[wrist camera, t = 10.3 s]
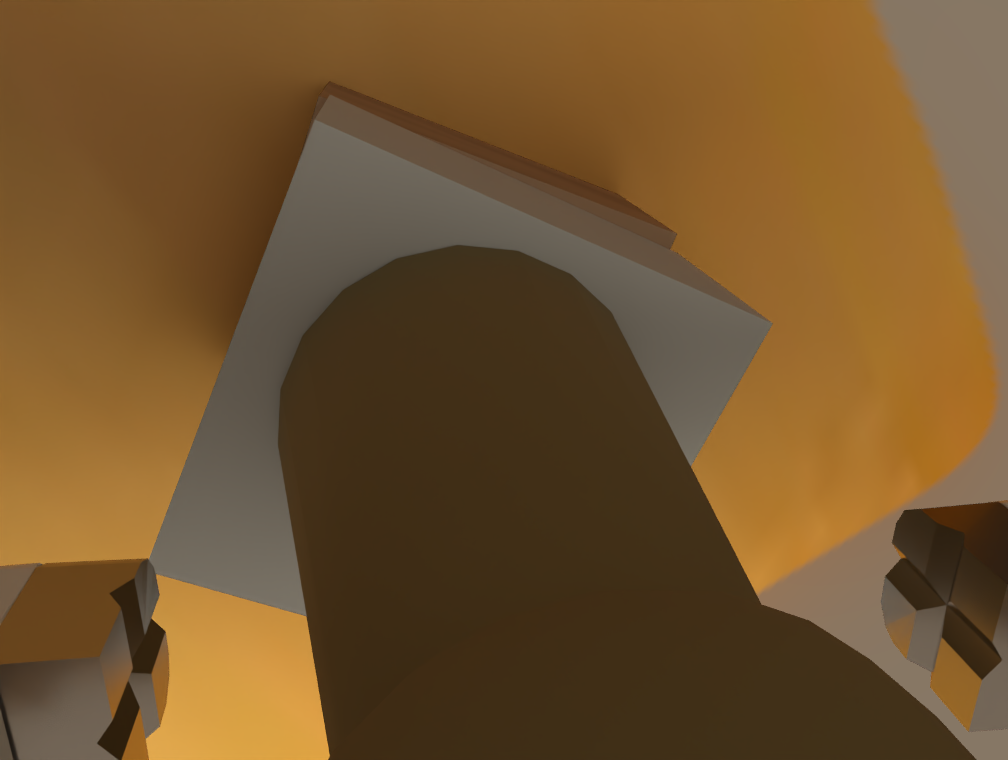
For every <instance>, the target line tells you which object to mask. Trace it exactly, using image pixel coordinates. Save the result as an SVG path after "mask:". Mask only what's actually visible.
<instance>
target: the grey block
mask: <svg viewBox="0 0 1008 760" xmlns="http://www.w3.org/2000/svg"><path fill="white" fill-rule="evenodd" d="M456 245H463V246H473V247H484V248H495V249H505V250H516V251H520V252H522V253H524V254H527V255H529V256H531V257H533V258H536V259H538V260H540V261H542V262H545V263H547V264H549V265H552V266H554V267H556V268H558V269H561V270H563V271H565V272H567V273H570V274H571V275H573V276H574V277H575V278H576V279H577V280H578V281H579V282H580V283H581V284H582V285H583V286H584V287H585V288H586V289H587V290H589V291H590V292H591V293H592V294H593V295H594V296H595V297H596V298H597V299H598V300H599V301H600V302H601V303H602V304H604V305H605V306H606V307H607V308H608V309H609V310H610V311H611V312H612V314H613V316H614V318H615V320H616V322H617V324H618V326H619V328H620V330H621V332H622V334H623V336H624V338H625V340H626V341H627V343H628V345H629V347H630V349H631V351H632V353H633V355H634V357H635V359H636V361H637V363H638V365H639V367H640V369H641V371H642V373H643V375H644V377H645V379H646V380H647V382H648V384H649V386H650V388H651V390H652V392H653V394H654V396H655V398H656V400H657V402H658V404H659V406H660V408H661V410H662V412H663V414H664V416H665V417H666V419H667V421H668V423H669V425H670V427H671V429H672V431H673V433H674V435H675V437H676V439H677V441H678V443H679V445H680V447H681V449H682V451H683V453H684V455H685V456H686V458H687V460H688V462H689V464H690V466H691V465H692V463H693V462H694V460H695V458H696V457H697V455H698V453H699V451H700V450H701V448H702V446H703V444H704V443H705V441H706V439H707V437H708V436H709V434H710V432H711V430H712V429H713V427H714V425H715V423H716V422H717V420H718V418H719V416H720V415H721V413H722V411H723V409H724V408H725V406H726V404H727V403H728V401H729V399H730V397H731V396H732V394H733V392H734V390H735V389H736V387H737V385H738V383H739V382H740V380H741V378H742V376H743V375H744V373H745V371H746V369H747V368H748V366H749V364H750V362H751V361H752V359H753V357H754V355H755V354H756V352H757V350H758V349H759V347H760V345H761V343H762V342H763V340H764V338H765V336H766V335H767V333H768V331H769V329H770V328H771V326H772V324H773V323H771V322H770V321H769V320H767V319H766V318H765V317H763V316H762V315H761V314H759V313H758V312H756V311H755V310H754V309H752V308H751V307H750V306H748V305H747V304H746V303H744V302H743V301H742V300H740V299H739V298H737V297H736V296H735V295H733V294H732V293H731V292H729V291H728V290H727V289H725V288H724V287H723V286H721V285H720V284H718V283H717V282H716V281H714V280H713V279H712V278H710V277H709V276H708V275H706V274H705V273H704V272H702V271H701V270H699V269H698V268H697V267H695V266H694V265H693V264H691V263H690V262H689V261H687V260H686V259H685V258H683V257H682V256H680V255H679V254H678V253H676V252H674V251H672V250H670V249H667V248H665V247H663V246H661V245H659V244H656V243H654V242H652V241H650V240H648V239H646V238H643V237H641V236H639V235H637V234H635V233H632V232H630V231H628V230H626V229H624V228H621V227H619V226H617V225H615V224H613V223H610V222H608V221H606V220H604V219H602V218H599V217H597V216H595V215H593V214H591V213H589V212H586V211H584V210H582V209H580V208H578V207H575V206H573V205H571V204H569V203H567V202H564V201H562V200H560V199H558V198H556V197H553V196H551V195H549V194H547V193H545V192H542V191H540V190H538V189H536V188H534V187H532V186H529V185H527V184H525V183H523V182H521V181H518V180H516V179H514V178H512V177H510V176H507V175H505V174H503V173H501V172H499V171H496V170H494V169H492V168H490V167H488V166H485V165H483V164H481V163H479V162H477V161H475V160H472V159H470V158H468V157H466V156H464V155H461V154H459V153H457V152H455V151H453V150H450V149H448V148H446V147H444V146H442V145H439V144H437V143H435V142H433V141H431V140H428V139H426V138H424V137H422V136H420V135H418V134H415V133H413V132H411V131H409V130H407V129H404V128H402V127H400V126H398V125H396V124H393V123H391V122H389V121H387V120H385V119H382V118H380V117H378V116H376V115H374V114H371V113H369V112H367V111H365V110H363V109H361V108H358V107H356V106H354V105H352V104H350V103H347V102H345V101H343V100H341V99H339V98H336V97H334V96H332V95H329V97H328V99H327V100H326V102H325V103H324V105H323V107H322V108H321V110H320V112H319V113H318V115H317V117H316V118H315V120H314V123H313V125H312V128H311V131H310V133H309V136H308V139H307V141H306V144H305V147H304V149H303V152H302V155H301V157H300V160H299V163H298V165H297V168H296V171H295V173H294V176H293V179H292V181H291V184H290V186H289V189H288V192H287V194H286V197H285V200H284V202H283V205H282V208H281V210H280V213H279V216H278V218H277V221H276V224H275V226H274V229H273V232H272V234H271V237H270V240H269V242H268V245H267V248H266V250H265V253H264V255H263V258H262V261H261V263H260V266H259V269H258V271H257V274H256V277H255V279H254V282H253V285H252V287H251V290H250V293H249V295H248V298H247V301H246V303H245V306H244V309H243V311H242V314H241V317H240V319H239V322H238V325H237V327H236V330H235V332H234V335H233V338H232V340H231V343H230V346H229V348H228V351H227V354H226V356H225V359H224V362H223V364H222V367H221V370H220V372H219V375H218V378H217V380H216V383H215V386H214V388H213V391H212V394H211V396H210V399H209V401H208V404H207V407H206V409H205V412H204V415H203V417H202V420H201V423H200V425H199V428H198V431H197V433H196V436H195V439H194V441H193V444H192V447H191V449H190V452H189V455H188V457H187V460H186V463H185V465H184V468H183V471H182V473H181V476H180V478H179V481H178V484H177V486H176V489H175V492H174V494H173V497H172V500H171V502H170V505H169V508H168V510H167V513H166V516H165V518H164V521H163V524H162V526H161V529H160V532H159V534H158V537H157V540H156V542H155V545H154V547H153V550H152V553H151V555H150V558H149V561H150V562H151V564H152V565H153V566H154V569H155V574H158V575H162V576H166V577H169V578H173V579H176V580H180V581H183V582H187V583H190V584H194V585H198V586H201V587H205V588H208V589H212V590H215V591H219V592H222V593H226V594H230V595H233V596H237V597H240V598H244V599H247V600H251V601H254V602H258V603H261V604H265V605H269V606H272V607H276V608H279V609H283V610H286V611H290V612H293V613H297V614H301V615H304V616H306V610H305V604H304V598H303V592H302V586H301V580H300V574H299V568H298V562H297V556H296V550H295V544H294V538H293V532H292V526H291V520H290V514H289V508H288V502H287V496H286V490H285V484H284V478H283V473H282V467H281V461H280V455H279V449H278V429H279V408H280V389H281V386H282V384H283V382H284V379H285V377H286V374H287V372H288V370H289V367H290V365H291V362H292V360H293V357H294V355H295V353H296V350H297V348H298V345H299V343H300V341H301V338H302V336H303V334H304V333H305V332H306V331H307V330H308V329H309V328H310V327H311V325H312V324H313V323H314V322H315V321H316V320H317V319H318V318H319V316H320V315H321V314H322V313H323V312H324V311H325V310H326V309H327V307H328V306H329V305H330V304H331V303H332V302H333V301H334V299H335V298H336V297H337V296H338V295H339V294H340V293H341V292H342V290H344V289H345V288H347V287H349V286H351V285H352V284H354V283H356V282H357V281H359V280H361V279H363V278H364V277H366V276H368V275H369V274H371V273H373V272H375V271H376V270H378V269H380V268H381V267H383V266H385V265H387V264H388V263H390V262H392V261H393V260H395V259H397V258H401V257H406V256H410V255H415V254H419V253H424V252H429V251H433V250H438V249H442V248H447V247H451V246H456Z"/></svg>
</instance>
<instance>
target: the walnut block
mask: <svg viewBox="0 0 1008 760" xmlns="http://www.w3.org/2000/svg"><path fill="white" fill-rule="evenodd" d="M329 95H332V96H334V97H336V98H339V99H341V100H343V101H345V102H347V103H350V104H352V105H354V106H356V107H358V108H361V109H363V110H365V111H367V112H369V113H371V114H374V115H376V116H378V117H380V118H382V119H385V120H387V121H389V122H391V123H393V124H396V125H398V126H400V127H402V128H404V129H407V130H409V131H411V132H413V133H415V134H418V135H420V136H422V137H424V138H426V139H428V140H431V141H433V142H435V143H437V144H439V145H442V146H444V147H446V148H448V149H450V150H453V151H455V152H457V153H459V154H461V155H464V156H466V157H468V158H470V159H472V160H475V161H477V162H479V163H481V164H483V165H485V166H488V167H490V168H492V169H494V170H496V171H499V172H501V173H503V174H505V175H507V176H510V177H512V178H514V179H516V180H518V181H521V182H523V183H525V184H527V185H529V186H532V187H534V188H536V189H538V190H540V191H542V192H545V193H547V194H549V195H551V196H553V197H556V198H558V199H560V200H562V201H564V202H567V203H569V204H571V205H573V206H575V207H578V208H580V209H582V210H584V211H586V212H589V213H591V214H593V215H595V216H597V217H599V218H602V219H604V220H606V221H608V222H610V223H613V224H615V225H617V226H619V227H621V228H624V229H626V230H628V231H630V232H632V233H635V234H637V235H639V236H641V237H643V238H646V239H648V240H650V241H652V242H654V243H656V244H659V245H661V246H663V247H665V248H667V249H670V248H671V246H672V244H673V242H674V240H675V237H676V235H677V234H676V233H675V232H673V231H672V230H670V229H669V228H667V227H666V226H664V225H663V224H661V223H660V222H658V221H657V220H655V219H654V218H653V217H651V216H650V215H648V214H647V213H645V212H644V211H642V210H641V209H639V208H638V207H636V206H635V205H633V204H632V203H630V202H629V201H627V200H626V199H624V198H623V197H621V196H620V195H618V194H616V193H613V192H610V191H608V190H605V189H603V188H600V187H598V186H595V185H593V184H590V183H587V182H585V181H582V180H580V179H577V178H575V177H572V176H570V175H567V174H564V173H562V172H559V171H557V170H554V169H552V168H549V167H547V166H544V165H541V164H539V163H536V162H534V161H531V160H529V159H526V158H524V157H521V156H518V155H516V154H513V153H511V152H508V151H506V150H503V149H501V148H498V147H496V146H493V145H490V144H488V143H485V142H483V141H480V140H478V139H475V138H473V137H470V136H467V135H465V134H462V133H460V132H457V131H455V130H452V129H450V128H447V127H444V126H442V125H439V124H437V123H434V122H432V121H429V120H427V119H424V118H421V117H419V116H416V115H414V114H411V113H409V112H406V111H404V110H401V109H398V108H396V107H393V106H391V105H388V104H386V103H383V102H381V101H378V100H375V99H373V98H370V97H368V96H365V95H363V94H360V93H358V92H355V91H352V90H350V89H347V88H345V87H342V86H340V85H337V84H335V83H332V82H329V83H328V84H327V86H326V87H325V88H324V90H323V91H322V92H321V94H320V95H319V97H318V100H317V104H316V107H315V110H314V113H313V117H312V120H311V123H310V126H309V130H308V133H307V136H306V139H305V143H304V146H303V149H304V147H305V144H306V141H307V139H308V136H309V133H310V131H311V128H312V125H313V123H314V120H315V118H316V117H317V115H318V113H319V112H320V110H321V108H322V107H323V105H324V103H325V102H326V100H327V99H328V97H329ZM303 149H302V152H303ZM302 152H301V155H302ZM300 157H301V156H300ZM299 160H300V159H299ZM298 163H299V162H298Z"/></svg>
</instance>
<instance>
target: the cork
mask: <svg viewBox="0 0 1008 760" xmlns="http://www.w3.org/2000/svg"><path fill="white" fill-rule="evenodd" d="M278 449H279V455H280V461H281V467H282V473H283V478H284V484H285V490H286V496H287V502H288V508H289V514H290V520H291V526H292V532H293V538H294V544H295V550H296V556H297V562H298V568H299V574H300V580H301V586H302V592H303V598H304V604H305V610H306V616H307V622H308V628H309V634H310V640H311V646H312V652H313V658H314V664H315V669H316V675H317V681H318V687H319V693H320V699H321V705H322V711H323V717H324V723H325V729H326V735H327V741H328V747H329V753H330V757H329V759H328V760H976V759H975V758H974V756H973V755H972V754H971V753H970V752H969V751H968V750H967V749H966V748H965V747H964V746H963V745H962V744H961V742H959V740H958V739H957V738H956V737H955V736H954V735H953V734H952V733H951V732H950V731H949V730H948V728H947V727H946V726H945V725H944V724H943V723H942V722H941V721H940V720H939V719H938V718H937V717H936V716H935V715H934V714H933V713H932V712H931V711H929V710H928V709H927V708H926V707H925V706H924V705H922V704H921V703H920V702H919V701H918V700H917V699H916V698H914V697H913V696H912V695H911V694H910V693H909V692H907V691H906V690H905V689H904V688H903V687H902V686H900V685H899V684H898V683H897V682H896V681H895V680H893V679H892V678H891V677H890V676H889V675H887V674H886V673H885V672H884V671H883V670H882V669H881V668H879V667H878V666H877V665H876V664H875V663H874V662H872V661H871V660H870V659H869V658H867V657H865V656H864V655H862V654H861V653H859V652H858V651H856V650H854V649H853V648H851V647H850V646H848V645H847V644H845V643H843V642H842V641H840V640H839V639H837V638H836V637H834V636H833V635H831V634H829V633H828V632H826V631H825V630H823V629H822V628H820V627H818V626H817V625H815V624H814V623H812V622H811V621H809V620H805V619H803V618H800V617H797V616H794V615H791V614H788V613H785V612H782V611H779V610H776V609H773V608H770V607H767V606H764V605H761V603H760V601H759V599H758V597H757V595H756V593H755V591H754V589H753V587H752V585H751V583H750V581H749V579H748V577H747V575H746V573H745V571H744V570H743V568H742V566H741V564H740V562H739V560H738V558H737V556H736V554H735V552H734V550H733V548H732V546H731V544H730V542H729V540H728V538H727V536H726V534H725V533H724V531H723V529H722V527H721V525H720V523H719V521H718V519H717V517H716V515H715V513H714V511H713V509H712V507H711V505H710V503H709V501H708V499H707V497H706V495H705V494H704V492H703V490H702V488H701V486H700V484H699V482H698V480H697V478H696V476H695V474H694V472H693V470H692V468H691V466H690V464H689V462H688V460H687V458H686V456H685V455H684V453H683V451H682V449H681V447H680V445H679V443H678V441H677V439H676V437H675V435H674V433H673V431H672V429H671V427H670V425H669V423H668V421H667V419H666V417H665V416H664V414H663V412H662V410H661V408H660V406H659V404H658V402H657V400H656V398H655V396H654V394H653V392H652V390H651V388H650V386H649V384H648V382H647V380H646V379H645V377H644V375H643V373H642V371H641V369H640V367H639V365H638V363H637V361H636V359H635V357H634V355H633V353H632V351H631V349H630V347H629V345H628V343H627V341H626V340H625V338H624V336H623V334H622V332H621V330H620V328H619V326H618V324H617V322H616V320H615V318H614V316H613V314H612V312H611V311H610V310H609V309H608V308H607V307H606V306H605V305H604V304H602V303H601V302H600V301H599V300H598V299H597V298H596V297H595V296H594V295H593V294H592V293H591V292H590V291H589V290H587V289H586V288H585V287H584V286H583V285H582V284H581V283H580V282H579V281H578V280H577V279H576V278H575V277H574V276H573V275H571V274H570V273H567V272H565V271H563V270H561V269H558V268H556V267H554V266H552V265H549V264H547V263H545V262H542V261H540V260H538V259H536V258H533V257H531V256H529V255H527V254H524V253H522V252H520V251H516V250H505V249H495V248H484V247H473V246H463V245H456V246H451V247H447V248H442V249H438V250H433V251H429V252H424V253H419V254H415V255H410V256H406V257H401V258H397V259H395V260H393V261H392V262H390V263H388V264H387V265H385V266H383V267H381V268H380V269H378V270H376V271H375V272H373V273H371V274H369V275H368V276H366V277H364V278H363V279H361V280H359V281H357V282H356V283H354V284H352V285H351V286H349V287H347V288H345V289H344V290H342V292H341V293H340V294H339V295H338V296H337V297H336V298H335V299H334V301H333V302H332V303H331V304H330V305H329V306H328V307H327V309H326V310H325V311H324V312H323V313H322V314H321V315H320V316H319V318H318V319H317V320H316V321H315V322H314V323H313V324H312V325H311V327H310V328H309V329H308V330H307V331H306V332H305V333H304V334H303V336H302V338H301V341H300V343H299V345H298V348H297V350H296V353H295V355H294V357H293V360H292V362H291V365H290V367H289V370H288V372H287V374H286V377H285V379H284V382H283V384H282V386H281V389H280V408H279V429H278Z"/></svg>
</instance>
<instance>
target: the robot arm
mask: <svg viewBox="0 0 1008 760" xmlns="http://www.w3.org/2000/svg"><path fill="white" fill-rule="evenodd" d="M892 544H893V545H894V547H895V549H896V551H897V552H898V554H899V556H900V557H901V559H900V560H899V562H898V563H897V564H896V565H895V566H894V567H893V569H891V570H890V572H889V573H888V574H887V575H886V576H885V580H884V586H883V593H882V599H881V604H882V610H883V616H884V622H885V626H886V629H887V631H888V633H889V635H890V637H891V639H892V641H893V643H894V644H895V646H896V647H897V648H898V649H899V650H900V652H901V653H902V654H903V656H904V657H905V658H906V659H907V660H910V661H911V662H913V663H915V664H917V665H919V666H921V667H923V668H925V669H927V670H929V671H931V683H930V688H931V689H932V690H933V691H934V692H935V693H936V695H937V696H938V697H939V698H940V699H941V700H942V702H943V703H944V704H945V705H946V706H947V707H948V708H949V710H950V711H951V712H952V713H953V714H954V716H955V717H956V718H957V719H958V720H959V721H960V723H961V724H962V725H963V726H964V727H965V728H966V730H967V731H968V732H974V731H987V730H1002V729H1008V500H1004V501H995V502H988V503H978V504H967V505H956V506H946V507H936V508H924V509H914V510H904V512H903V514H902V515H901V517H900V518H899V520H898V521H897V523H896V527H895V531H894V536H893V540H892ZM158 598H159V590H158V585H157V579H156V574H155V569H154V566H153V565H152V564H151V562H150V561H149V560H148V558H146V559H124V560H103V561H81V562H60V563H45V564H40V563H32V564H19V565H7V566H0V760H149V757H148V751H147V745H146V738H147V737H148V736H149V735H150V734H152V733H153V732H154V731H155V730H156V729H157V728H159V727H160V724H161V721H162V717H163V714H164V710H165V707H166V702H167V692H168V683H169V652H168V645H167V638H166V632H165V631H164V630H163V629H162V628H161V627H160V626H159V625H158V624H157V623H155V622H154V621H153V620H152V619H151V617H152V614H153V612H154V609H155V606H156V603H157V601H158Z"/></svg>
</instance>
